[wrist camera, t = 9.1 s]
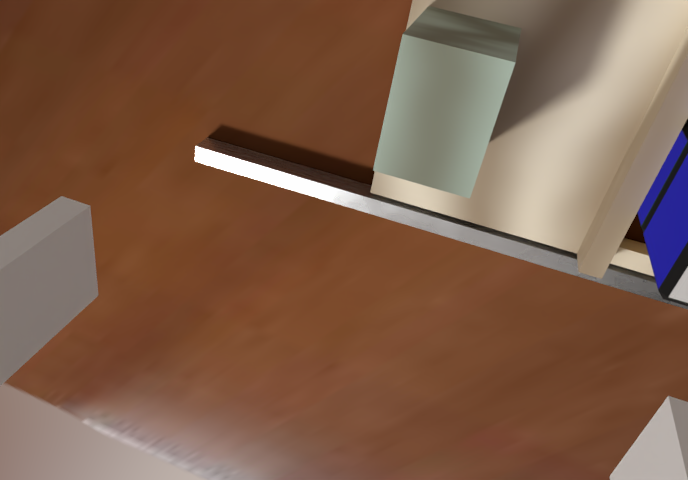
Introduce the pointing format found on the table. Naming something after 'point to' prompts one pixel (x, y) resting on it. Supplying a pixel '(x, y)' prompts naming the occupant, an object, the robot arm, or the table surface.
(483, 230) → the light grey flat piece
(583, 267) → the board with grey block
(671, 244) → the puzzle cube
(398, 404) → the table surface
